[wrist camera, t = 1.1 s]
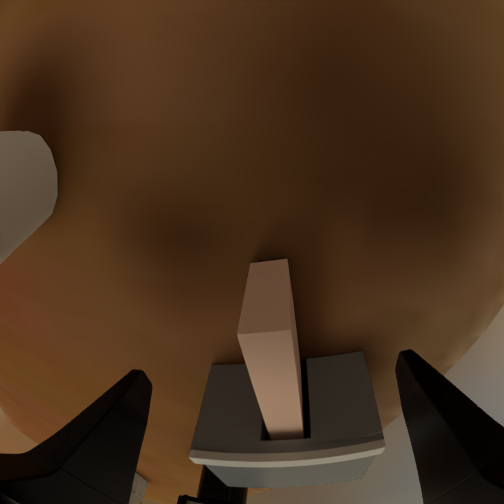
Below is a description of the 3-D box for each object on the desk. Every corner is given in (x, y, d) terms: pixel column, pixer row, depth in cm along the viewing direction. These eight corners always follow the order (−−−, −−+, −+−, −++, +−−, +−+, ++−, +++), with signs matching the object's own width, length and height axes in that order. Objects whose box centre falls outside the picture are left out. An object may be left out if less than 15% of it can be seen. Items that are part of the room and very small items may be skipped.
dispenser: (353, 411, 19) (363, 483, 13) (237, 420, 21) (226, 491, 15) (362, 350, 16) (385, 446, 10) (211, 364, 18) (188, 457, 11)
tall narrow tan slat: (302, 385, 17) (304, 447, 13) (276, 387, 18) (274, 449, 13) (287, 258, 13) (290, 329, 9) (250, 263, 13) (236, 334, 9)
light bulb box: (101, 456, 36) (85, 497, 26) (130, 466, 35) (115, 510, 25) (123, 473, 40) (111, 510, 31) (149, 482, 40) (138, 520, 30)
